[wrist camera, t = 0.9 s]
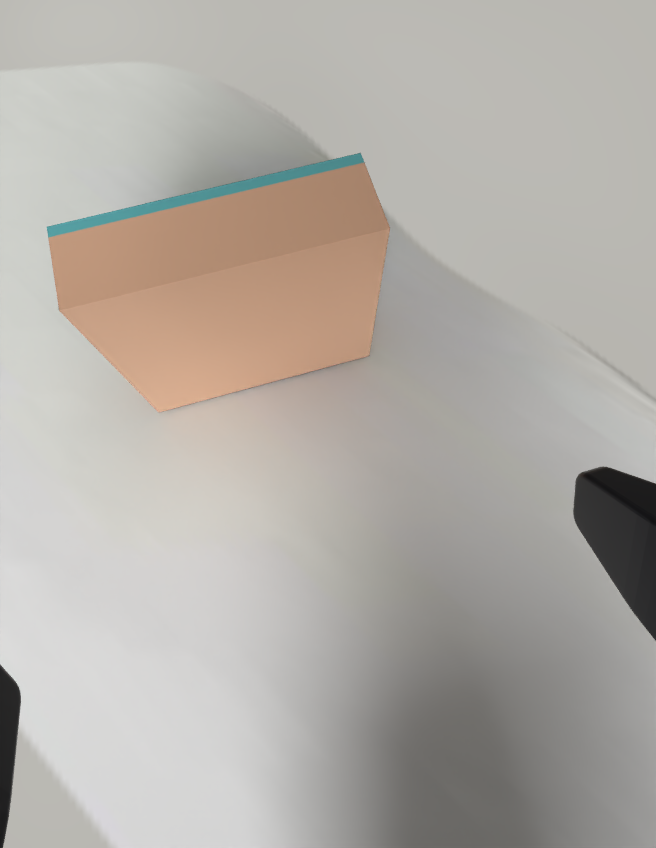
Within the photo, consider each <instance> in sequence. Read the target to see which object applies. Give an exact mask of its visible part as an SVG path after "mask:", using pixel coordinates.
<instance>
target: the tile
mask: <svg viewBox="0 0 656 848" xmlns="http://www.w3.org/2000/svg"><path fill="white" fill-rule="evenodd" d="M47 231H48V238H49V245H50V251H51V258H52V265H53V272H54V278H55V285H56V292H57V299H58V305H59V311H60V312H61V313H62V314H63V315H64V316H65V317H66V318H67V319H68V320H69V321H70V322H71V323H72V324H73V325H74V326H75V327H76V328H77V329H78V330H79V331H80V332H81V333H82V334H83V335H84V336H85V337H86V338H87V340H88V341H89V342H90V343H91V344H92V345H93V346H94V347H95V348H96V349H97V350H98V351H99V352H100V353H101V354H102V355H103V356H104V357H105V358H106V359H107V360H108V361H109V362H110V363H111V364H112V365H113V366H114V367H115V368H116V369H117V370H118V371H119V372H120V373H121V374H122V375H123V376H124V377H125V378H126V379H127V380H128V382H129V383H130V384H131V385H132V386H133V387H134V388H135V389H136V390H137V391H138V392H139V393H140V394H141V395H142V396H143V397H144V398H145V399H146V400H147V401H148V402H149V403H150V404H151V405H152V406H153V407H154V408H155V409H156V410H157V411H158V412H162V411H166V410H170V409H174V408H177V407H181V406H185V405H188V404H192V403H196V402H200V401H203V400H207V399H211V398H214V397H218V396H222V395H226V394H229V393H233V392H237V391H241V390H244V389H248V388H252V387H255V386H259V385H263V384H267V383H270V382H274V381H278V380H281V379H285V378H289V377H293V376H296V375H300V374H304V373H307V372H311V371H315V370H319V369H322V368H326V367H330V366H333V365H337V364H341V363H345V362H348V361H352V360H356V359H359V358H363V357H367V356H369V353H370V347H371V341H372V335H373V329H374V323H375V317H376V311H377V304H378V298H379V292H380V286H381V280H382V274H383V268H384V262H385V256H386V250H387V244H388V237H389V231H390V227H389V224H388V222H387V219H386V217H385V214H384V212H383V209H382V206H381V204H380V201H379V199H378V196H377V194H376V191H375V189H374V186H373V183H372V181H371V178H370V176H369V173H368V171H367V168H366V166H365V163H364V161H363V158H362V156H361V153H358V154H354V155H350V156H345V157H342V158H337V159H333V160H328V161H324V162H320V163H316V164H312V165H307V166H303V167H299V168H295V169H290V170H286V171H282V172H278V173H273V174H269V175H265V176H261V177H256V178H252V179H248V180H244V181H239V182H235V183H231V184H227V185H222V186H218V187H214V188H210V189H205V190H201V191H197V192H193V193H189V194H184V195H180V196H176V197H172V198H167V199H163V200H159V201H155V202H150V203H146V204H142V205H138V206H133V207H129V208H125V209H121V210H116V211H112V212H108V213H104V214H99V215H95V216H91V217H87V218H82V219H78V220H74V221H70V222H66V223H61V224H57V225H53V226H49V227H47Z"/></svg>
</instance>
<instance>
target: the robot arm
mask: <svg viewBox="0 0 656 848" xmlns="http://www.w3.org/2000/svg"><path fill="white" fill-rule="evenodd" d="M573 513H574V519H575V522H576V524H577V526H578V528H579V530H580V531H581V533H582V534H583V536H584V537H585V539H586V541H587V542H588V544H589V545H590V547H591V548H592V550H593V551H594V553H595V554H596V556H597V558H598V559H599V561H600V562H601V564H602V565H603V567H604V568H605V570H606V572H607V573H608V575H609V576H610V578H611V579H612V581H613V582H614V584H615V585H616V587H617V589H618V590H619V592H620V593H621V595H622V596H623V598H624V599H625V601H626V602H627V604H628V605H629V607H630V608H631V609H632V611H633V612H634V614H635V615H636V616H637V617H638V619H639V620H640V621H641V623H642V624H643V625H644V627H645V628H646V629H647V630H648V632H649V633H650V634H651V635H652V637H653V638H654V639H655V640H656V484H655V483H652V482H649V481H646V480H644V479H641V478H638V477H635V476H632V475H629V474H626V473H623V472H620V471H618V470H615V469H612V468H608V467H598V468H595V469H592V470H588V471H585V472H582V473H580V474H579V475H578V477H577V478H576V485H575V497H574V510H573ZM20 705H21V695H20V690H19V687H18V685H17V683H16V682H15V681H14V679H13V678H12V677H11V676H10V675H9V674H8V673H7V672H6V670H5V669H4V668H3V667H2V666H1V665H0V848H3V843H4V839H5V834H6V828H7V823H8V817H9V810H10V803H11V795H12V785H13V774H14V765H15V755H16V745H17V735H18V725H19V715H20Z"/></svg>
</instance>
